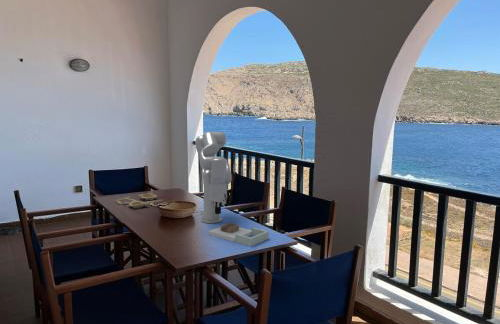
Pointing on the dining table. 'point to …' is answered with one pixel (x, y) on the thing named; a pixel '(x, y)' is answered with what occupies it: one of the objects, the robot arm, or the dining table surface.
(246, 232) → the board
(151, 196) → the tableware set
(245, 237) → the box
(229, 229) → the brown round disc
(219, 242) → the dining table surface
